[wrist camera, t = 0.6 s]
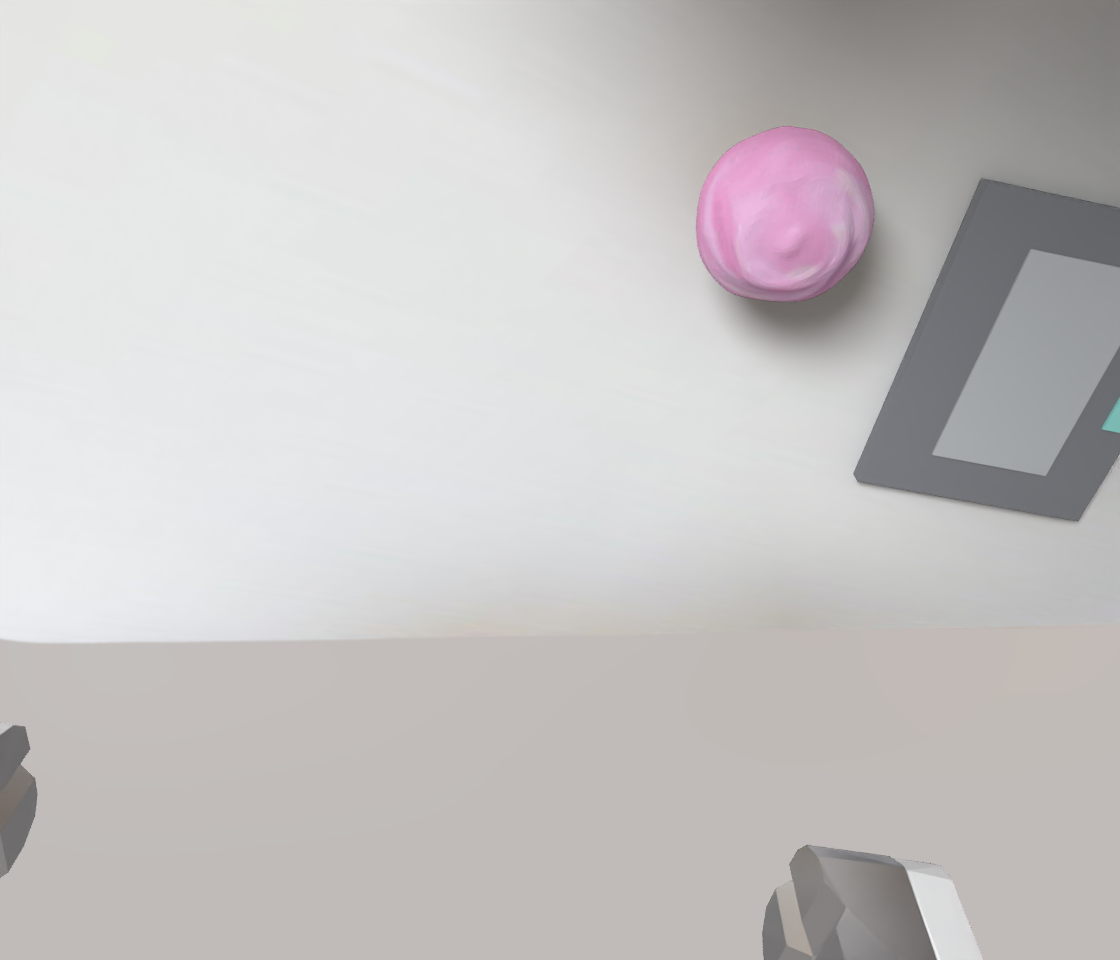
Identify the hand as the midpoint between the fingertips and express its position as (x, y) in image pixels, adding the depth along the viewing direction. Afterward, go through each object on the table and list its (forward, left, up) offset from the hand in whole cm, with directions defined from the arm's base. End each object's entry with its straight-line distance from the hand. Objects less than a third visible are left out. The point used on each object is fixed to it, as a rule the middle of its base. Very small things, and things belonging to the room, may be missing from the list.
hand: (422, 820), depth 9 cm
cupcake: (+2, +13, -46) cm, 48 cm away
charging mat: (+9, +33, -46) cm, 57 cm away
